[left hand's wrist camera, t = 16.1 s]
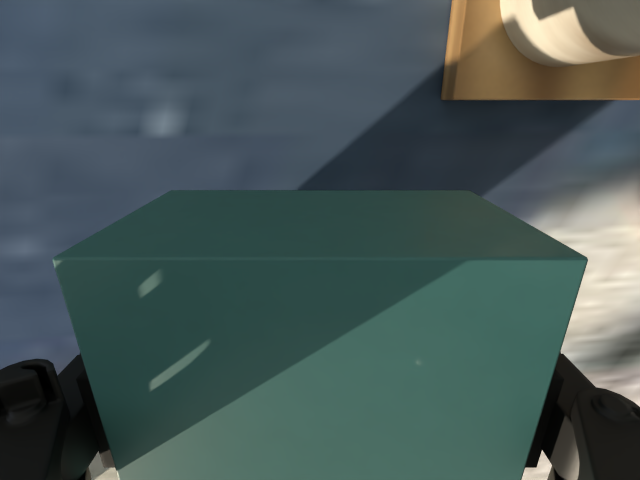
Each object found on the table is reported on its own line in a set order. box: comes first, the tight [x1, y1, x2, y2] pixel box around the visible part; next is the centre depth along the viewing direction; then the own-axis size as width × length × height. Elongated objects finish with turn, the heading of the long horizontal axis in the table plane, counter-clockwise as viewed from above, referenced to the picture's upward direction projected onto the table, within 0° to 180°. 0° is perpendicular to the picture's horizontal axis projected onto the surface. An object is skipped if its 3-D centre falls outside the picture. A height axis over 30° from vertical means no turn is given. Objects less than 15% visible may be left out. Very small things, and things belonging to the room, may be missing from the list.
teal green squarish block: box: [53, 190, 588, 480], centre depth 10 cm, size 9×9×5 cm
